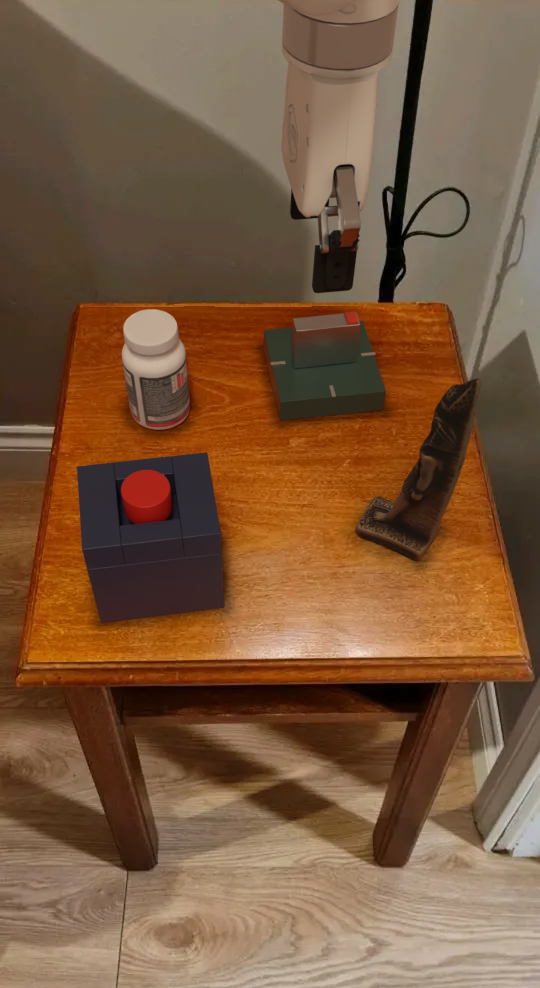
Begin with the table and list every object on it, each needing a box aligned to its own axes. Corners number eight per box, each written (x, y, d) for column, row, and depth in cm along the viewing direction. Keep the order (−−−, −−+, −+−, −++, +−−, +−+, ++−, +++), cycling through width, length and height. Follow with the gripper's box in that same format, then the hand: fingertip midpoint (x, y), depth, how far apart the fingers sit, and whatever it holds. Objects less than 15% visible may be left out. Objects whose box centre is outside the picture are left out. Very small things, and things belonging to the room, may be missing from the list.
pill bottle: (201, 400, 87) (195, 316, 79) (172, 440, 84) (164, 357, 76) (148, 382, 88) (138, 297, 80) (119, 420, 85) (104, 336, 77)
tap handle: (294, 368, 86) (296, 328, 82) (290, 356, 87) (292, 315, 83) (356, 362, 87) (361, 322, 83) (351, 349, 88) (356, 309, 84)
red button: (126, 529, 67) (122, 509, 65) (122, 492, 69) (119, 472, 67) (174, 523, 67) (172, 504, 66) (169, 487, 69) (167, 466, 67)
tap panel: (279, 422, 86) (279, 401, 83) (262, 349, 91) (262, 327, 89) (384, 410, 87) (387, 390, 84) (361, 339, 92) (363, 318, 90)
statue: (372, 504, 80) (405, 323, 64) (447, 535, 79) (500, 357, 62) (352, 537, 78) (380, 359, 62) (428, 570, 77) (478, 395, 60)
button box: (101, 623, 73) (81, 549, 65) (95, 544, 77) (76, 465, 69) (224, 607, 74) (221, 533, 66) (211, 530, 78) (207, 451, 70)
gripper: (262, -28, 65) (258, 194, 79) (307, 99, 55) (293, 325, 70) (364, -32, 66) (342, 188, 80) (426, 91, 56) (388, 316, 71)
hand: (319, 251), depth 75 cm, fingers open, 9 cm apart
